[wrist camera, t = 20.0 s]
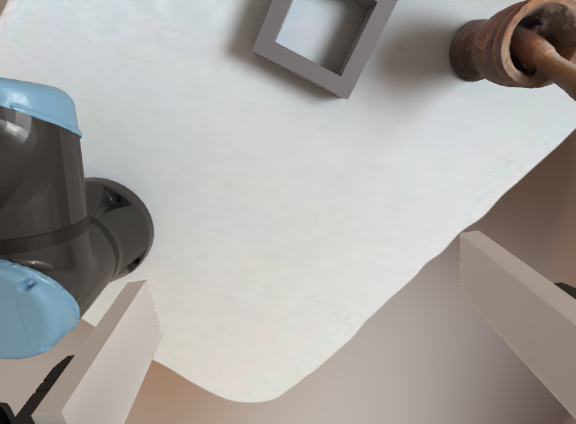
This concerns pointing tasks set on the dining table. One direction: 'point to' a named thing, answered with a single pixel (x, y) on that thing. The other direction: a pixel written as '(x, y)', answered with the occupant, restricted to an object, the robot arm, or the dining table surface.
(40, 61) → the dining table surface
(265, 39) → the socket rack
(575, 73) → the mortar and pestle
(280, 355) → the dining table surface
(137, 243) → the robot arm
